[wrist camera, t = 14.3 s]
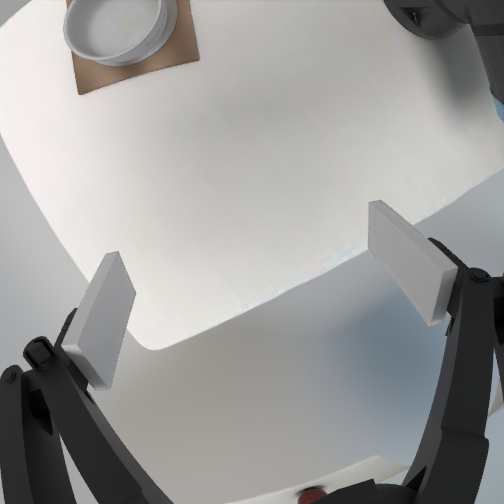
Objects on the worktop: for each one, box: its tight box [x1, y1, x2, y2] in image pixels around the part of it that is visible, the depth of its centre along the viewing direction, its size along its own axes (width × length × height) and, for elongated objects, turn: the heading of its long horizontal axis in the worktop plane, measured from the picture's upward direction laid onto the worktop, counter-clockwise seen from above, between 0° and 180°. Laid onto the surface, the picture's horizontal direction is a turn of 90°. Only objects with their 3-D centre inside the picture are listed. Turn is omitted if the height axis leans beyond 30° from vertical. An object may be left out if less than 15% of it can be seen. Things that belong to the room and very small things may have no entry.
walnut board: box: [66, 0, 199, 95], centre depth 28 cm, size 16×16×2 cm
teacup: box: [63, 0, 167, 62], centre depth 23 cm, size 14×11×8 cm
